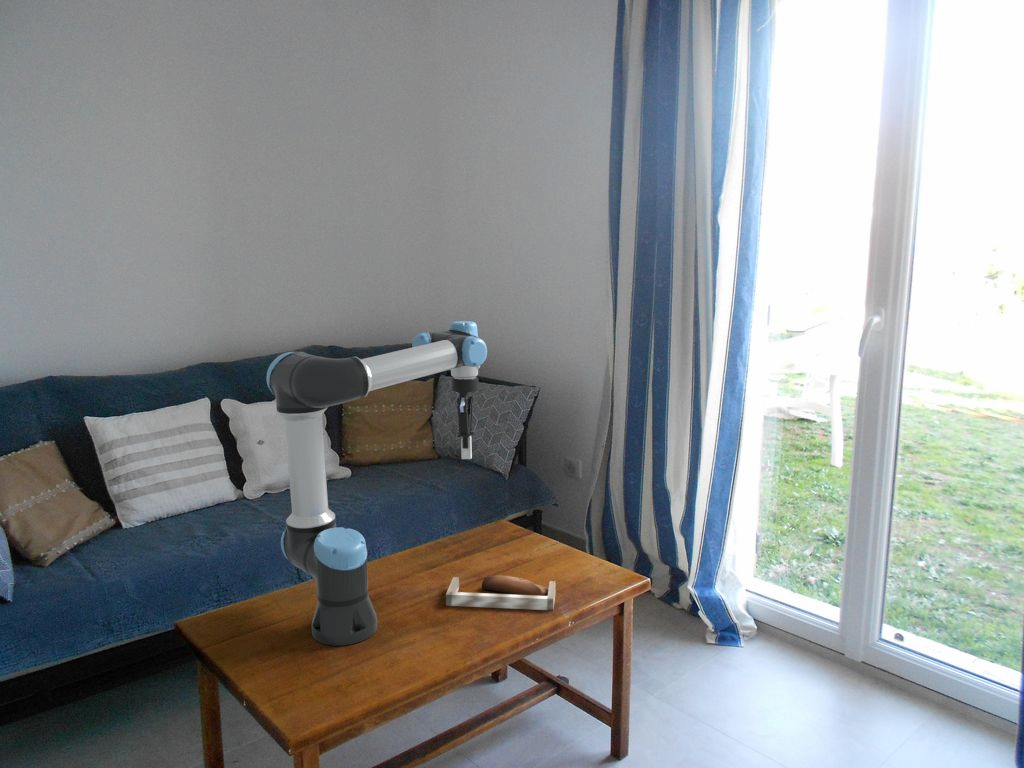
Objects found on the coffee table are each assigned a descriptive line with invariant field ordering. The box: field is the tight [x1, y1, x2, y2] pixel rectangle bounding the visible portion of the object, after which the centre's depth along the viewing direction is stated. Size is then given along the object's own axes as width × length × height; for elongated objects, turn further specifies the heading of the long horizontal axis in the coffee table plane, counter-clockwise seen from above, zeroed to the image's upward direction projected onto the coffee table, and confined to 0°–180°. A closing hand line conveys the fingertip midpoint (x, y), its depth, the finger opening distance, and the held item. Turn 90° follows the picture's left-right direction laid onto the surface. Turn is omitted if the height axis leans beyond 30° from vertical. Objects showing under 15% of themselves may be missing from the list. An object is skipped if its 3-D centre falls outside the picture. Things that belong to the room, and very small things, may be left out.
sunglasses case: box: [481, 574, 549, 596], centre depth 196 cm, size 18×7×7 cm
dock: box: [445, 576, 557, 611], centre depth 191 cm, size 27×10×3 cm, turn 84°
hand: (466, 458), depth 213 cm, fingers closed
